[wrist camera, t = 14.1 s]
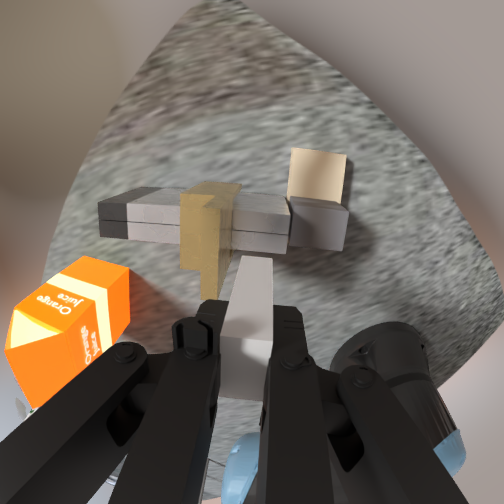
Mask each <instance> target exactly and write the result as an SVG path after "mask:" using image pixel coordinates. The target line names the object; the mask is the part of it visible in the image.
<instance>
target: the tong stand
mask: <svg viewBox="0 0 504 504" xmlns="http://www.w3.org/2000/svg"><path fill="white" fill-rule="evenodd" d="M346 156H347V155H342V154H336V153H330V152H323V151H316V150H309V149H301V148H292V150H291V160H290V171H289V181H288V190H287V200H286V203H287V206H288V209H289V212H290V215H291V216H290V224H289V232H288V240H287V244H289V246H295V247H305V248H315V249H325V250H335V251H342V250H343V245H344V239H345V234H346V228H347V222H348V216H349V211H348V210H346V209H345V208H344V207H343V206H341V205H340V203H341V196H342V189H343V181H344V173H345V165H346Z"/></svg>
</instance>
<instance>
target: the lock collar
mask: <svg viewBox="0 0 504 504" xmlns="http://www.w3.org/2000/svg"><path fill="white" fill-rule="evenodd" d="M241 187H242V184H237V183H223V182H206V181H205V182H203V183H201V184H198V185H196V186H194V187H192V188H190V189H188V190H186V191H184V192H182V193H180V269H189V270H198V271H201V300H208V299H213V300H218V297H219V294H220V291H221V288H222V285H223V282H224V279H225V276H226V274H227V271H228V268H229V265H230V262H231V259H232V256H233V253H234V250H235V249H230V242H231V225H232V209H233V200H234V198H235V197H236V196H237V194H238V193H239V192H240V190H241Z"/></svg>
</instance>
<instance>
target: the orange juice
mask: <svg viewBox="0 0 504 504" xmlns="http://www.w3.org/2000/svg"><path fill="white" fill-rule="evenodd" d="M129 322H130V308H129V268H127V267H123V266H119V265H115V264H112V263H108V262H104V261H101V260H97V259H94V258H90V257H87V256H83V257H82V258H80V259H79V260H77V261H76V262H74V263H73V264H71V265H70V266H69V267H67V268H66V269H64V270H63V271H62V272H60V273H58V274H57V275H55V276H54V277H53V278H51V279H50V280H48V281H47V282H46V283H45V284H44V285H43V286H41V287H40V288H39V289H37V290H36V291H35V292H33V293H32V294H31V295H30V296H28V297H27V298H26V299H24V300H23V301H22V302H21V303H19V304H18V305H17V306H16V307H15V308H14V311H13V315H12V319H11V323H10V327H9V332H8V336H7V341H6V346H5V351H4V352H5V354H6V357H7V359H8V361H9V364H10V366H11V368H12V370H13V372H14V374H15V377H16V379H17V381H18V383H19V385H20V387H21V388H22V390H23V392H24V394H25V396H26V398H27V400H28V401H29V403H30V405H31V407H32V408H33V409H34V408H37V407H40V406H42V405H43V404H44V403H45V402H46V401H47V400H49V399H50V398H51V397H52V396H53V395H54V394H56V393H57V392H58V391H59V390H60V389H61V388H62V387H64V386H65V385H66V384H67V383H68V382H69V381H71V380H72V379H73V378H74V377H75V376H76V375H78V374H79V373H80V372H81V371H82V370H83V369H85V368H86V367H87V366H88V365H89V364H90V363H92V362H93V361H94V360H95V359H96V358H97V357H99V356H100V355H101V354H102V353H103V352H105V351H106V350H107V349H108V348H109V347H111V346H113V345H114V343H115V342H116V340H117V339H118V338H119V336H120V335H121V333H122V332H123V331H124V329H125V328H126V327H127V325H128V324H129Z"/></svg>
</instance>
